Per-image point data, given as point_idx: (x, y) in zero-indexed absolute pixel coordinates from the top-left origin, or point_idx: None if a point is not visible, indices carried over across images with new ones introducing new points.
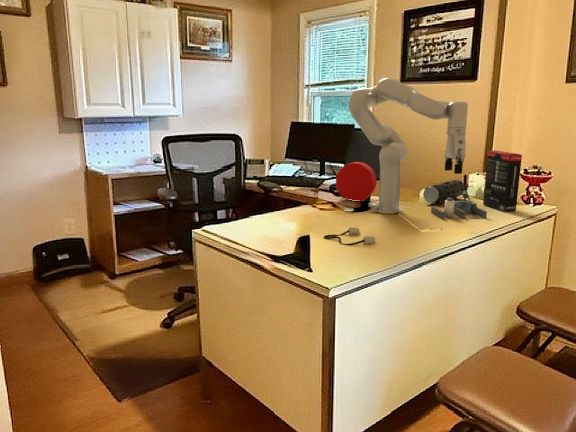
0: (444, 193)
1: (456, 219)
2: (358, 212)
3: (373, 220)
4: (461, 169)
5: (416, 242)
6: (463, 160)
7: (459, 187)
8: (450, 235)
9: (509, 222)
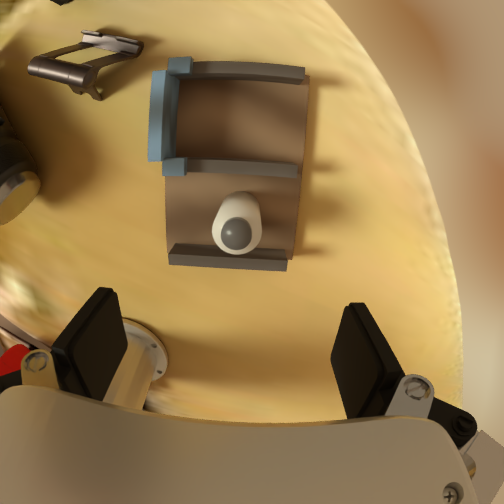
0: (10, 146)
1: (298, 204)
2: (153, 405)
3: (238, 406)
4: (375, 332)
5: (424, 370)
6: (468, 416)
7: None
8: (423, 296)
9: (335, 18)
